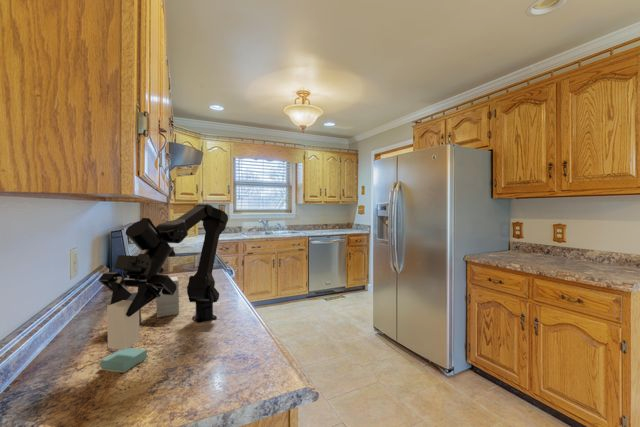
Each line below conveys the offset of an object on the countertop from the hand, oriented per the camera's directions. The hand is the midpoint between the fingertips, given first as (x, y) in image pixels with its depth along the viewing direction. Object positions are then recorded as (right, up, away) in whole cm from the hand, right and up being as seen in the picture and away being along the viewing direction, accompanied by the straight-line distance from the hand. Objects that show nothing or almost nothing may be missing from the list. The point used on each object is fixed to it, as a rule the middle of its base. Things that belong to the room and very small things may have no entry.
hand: (118, 315), depth 70 cm
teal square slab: (0, -12, +2) cm, 12 cm away
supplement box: (-9, -13, +40) cm, 43 cm away
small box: (-15, -13, +26) cm, 33 cm away
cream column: (0, -8, +1) cm, 8 cm away
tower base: (0, -14, +1) cm, 14 cm away
